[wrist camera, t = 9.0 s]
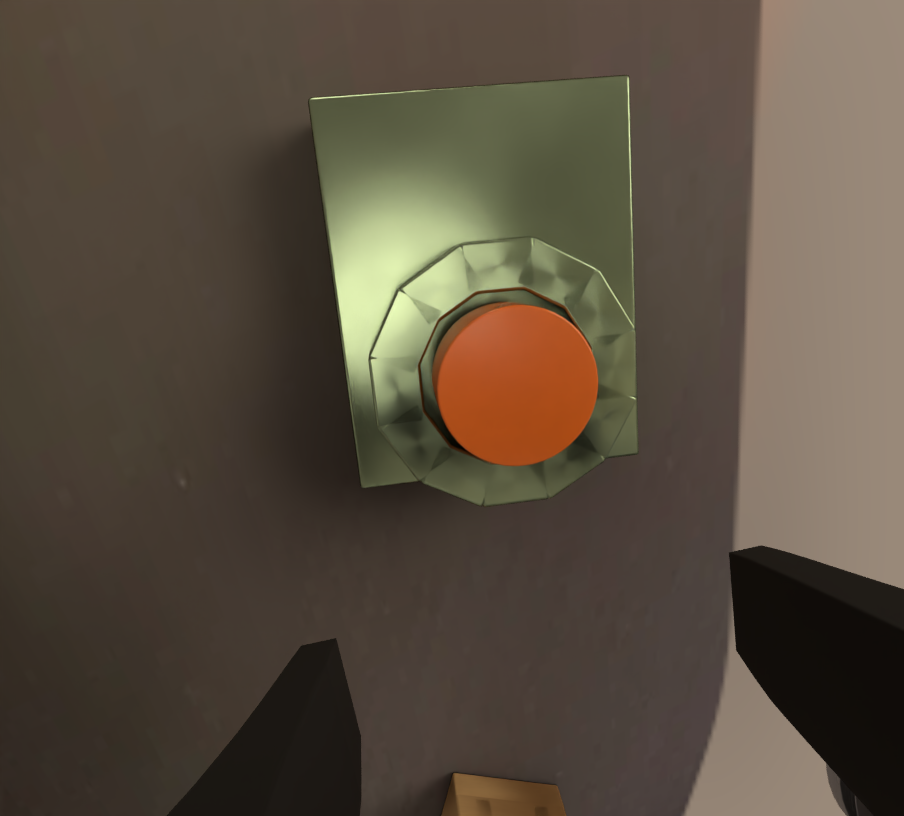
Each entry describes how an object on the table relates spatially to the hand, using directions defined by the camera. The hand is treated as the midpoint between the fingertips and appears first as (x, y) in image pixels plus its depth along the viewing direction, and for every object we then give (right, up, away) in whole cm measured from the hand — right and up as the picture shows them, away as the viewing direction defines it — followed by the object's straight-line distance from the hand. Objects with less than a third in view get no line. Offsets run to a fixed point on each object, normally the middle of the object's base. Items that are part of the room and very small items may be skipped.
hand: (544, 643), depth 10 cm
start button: (0, +5, +4) cm, 6 cm away
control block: (-1, +8, +7) cm, 11 cm away
